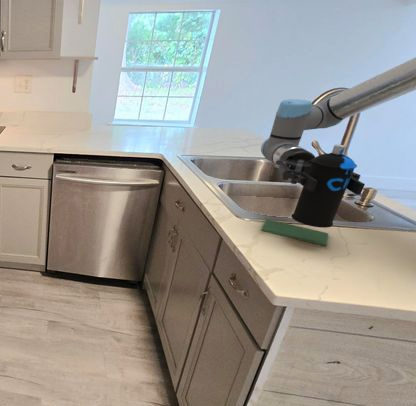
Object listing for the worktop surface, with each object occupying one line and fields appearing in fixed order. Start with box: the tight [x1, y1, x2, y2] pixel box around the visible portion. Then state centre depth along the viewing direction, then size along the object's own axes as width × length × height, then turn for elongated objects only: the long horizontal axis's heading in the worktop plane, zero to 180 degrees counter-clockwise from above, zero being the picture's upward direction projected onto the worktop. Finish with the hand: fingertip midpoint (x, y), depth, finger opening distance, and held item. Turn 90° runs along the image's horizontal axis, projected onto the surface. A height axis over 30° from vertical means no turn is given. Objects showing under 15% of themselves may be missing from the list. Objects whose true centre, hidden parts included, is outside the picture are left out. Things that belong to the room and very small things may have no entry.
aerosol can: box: [291, 144, 358, 229], centre depth 90 cm, size 8×8×20 cm
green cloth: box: [260, 218, 329, 247], centre depth 103 cm, size 14×8×1 cm, turn 46°
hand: (336, 187), depth 86 cm, fingers closed on aerosol can, 8 cm apart
